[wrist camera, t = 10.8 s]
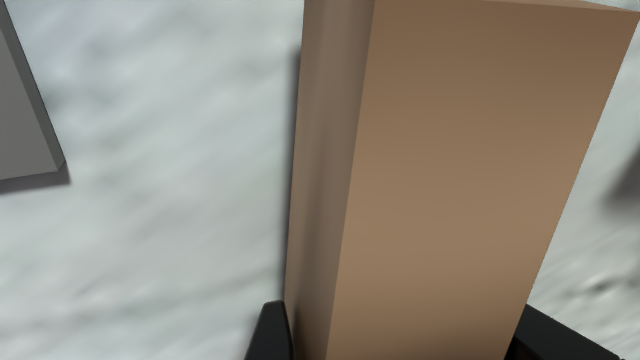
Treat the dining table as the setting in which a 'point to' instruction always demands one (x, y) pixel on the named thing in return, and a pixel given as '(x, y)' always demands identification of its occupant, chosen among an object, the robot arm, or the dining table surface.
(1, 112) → the mat
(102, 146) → the dining table surface
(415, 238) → the plain wood plank
